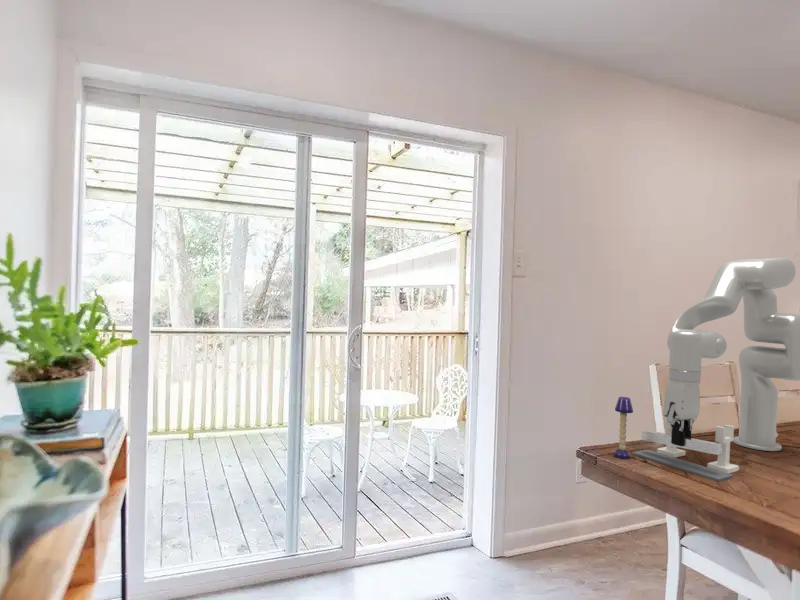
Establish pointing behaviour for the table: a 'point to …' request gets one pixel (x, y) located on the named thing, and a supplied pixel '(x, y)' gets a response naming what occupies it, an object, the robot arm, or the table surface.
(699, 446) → the rail
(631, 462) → the table surface
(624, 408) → the toy lamp
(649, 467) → the table surface
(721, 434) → the rack
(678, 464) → the mat
